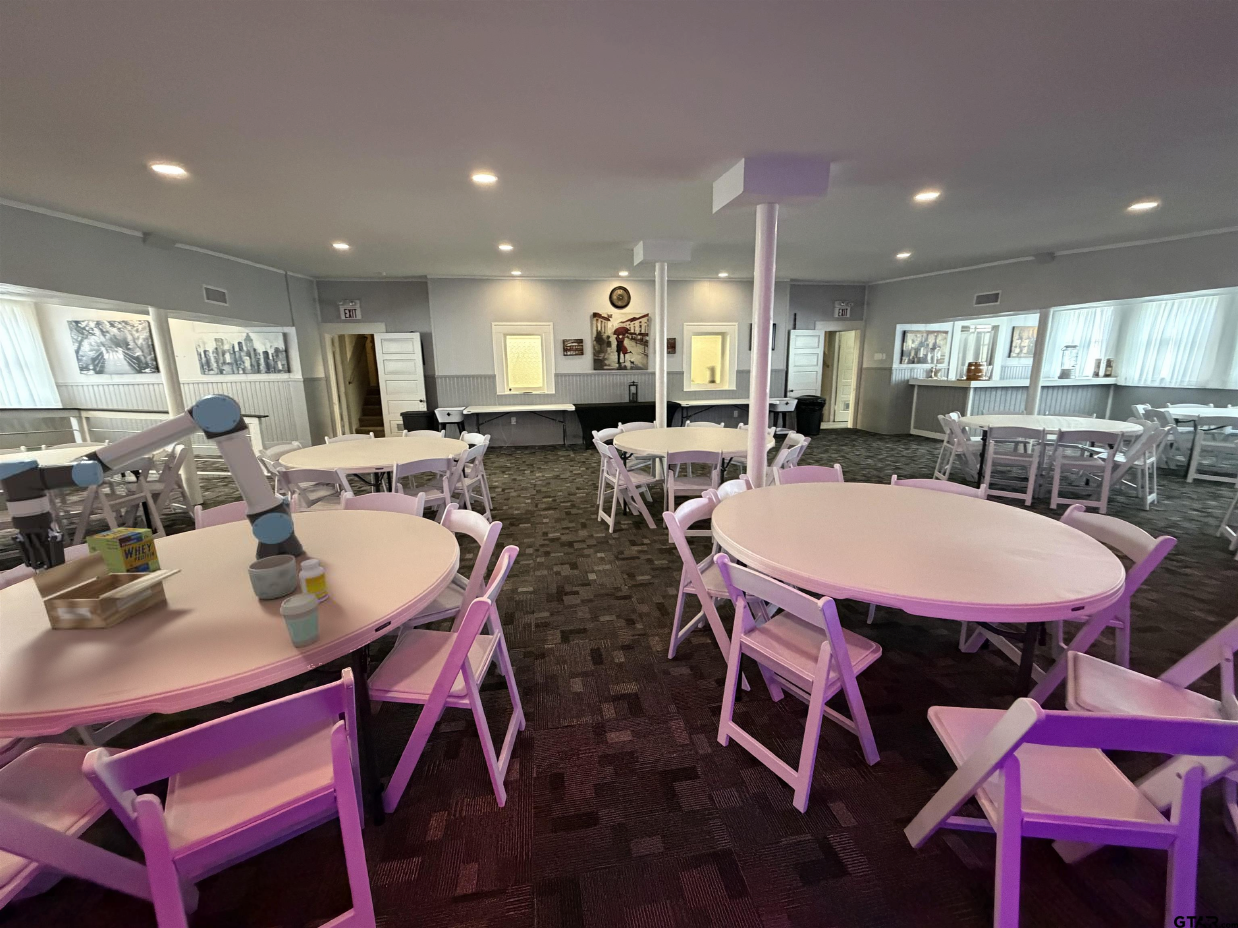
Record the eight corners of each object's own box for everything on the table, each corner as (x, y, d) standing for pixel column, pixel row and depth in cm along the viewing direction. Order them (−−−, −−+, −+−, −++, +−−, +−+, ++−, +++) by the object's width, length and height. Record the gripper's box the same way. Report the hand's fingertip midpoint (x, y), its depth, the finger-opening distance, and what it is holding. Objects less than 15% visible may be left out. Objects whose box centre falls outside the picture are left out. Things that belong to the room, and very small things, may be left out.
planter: (264, 606, 146) (257, 573, 144) (246, 597, 153) (240, 565, 151) (307, 590, 157) (302, 559, 154) (289, 581, 163) (283, 552, 161)
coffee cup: (298, 633, 131) (291, 593, 128) (330, 631, 131) (324, 591, 129) (279, 651, 122) (271, 608, 120) (314, 649, 123) (306, 606, 121)
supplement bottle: (333, 596, 152) (327, 558, 149) (314, 606, 145) (307, 567, 143) (318, 593, 154) (311, 556, 151) (298, 603, 148) (291, 564, 145)
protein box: (128, 580, 168) (117, 538, 165) (95, 577, 171) (84, 536, 168) (161, 567, 178) (152, 528, 175) (129, 565, 181) (120, 526, 178)
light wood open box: (188, 597, 153) (182, 569, 151) (131, 628, 136) (123, 596, 134) (117, 599, 154) (109, 570, 152) (51, 629, 136) (41, 597, 134)
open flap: (43, 598, 134) (19, 602, 135) (108, 571, 151) (87, 575, 152) (33, 574, 133) (8, 578, 133) (100, 551, 150) (78, 554, 150)
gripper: (70, 508, 141) (90, 582, 146) (22, 509, 142) (43, 583, 146) (40, 516, 134) (62, 593, 139) (-11, 517, 134) (12, 594, 139)
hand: (52, 587), depth 142 cm, fingers closed on open flap, 2 cm apart
